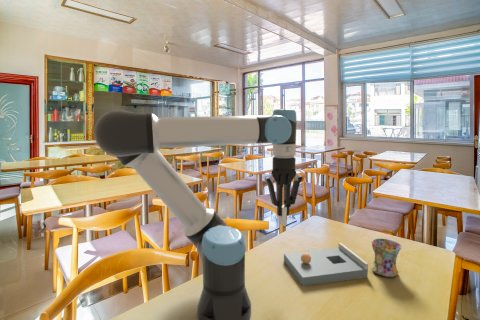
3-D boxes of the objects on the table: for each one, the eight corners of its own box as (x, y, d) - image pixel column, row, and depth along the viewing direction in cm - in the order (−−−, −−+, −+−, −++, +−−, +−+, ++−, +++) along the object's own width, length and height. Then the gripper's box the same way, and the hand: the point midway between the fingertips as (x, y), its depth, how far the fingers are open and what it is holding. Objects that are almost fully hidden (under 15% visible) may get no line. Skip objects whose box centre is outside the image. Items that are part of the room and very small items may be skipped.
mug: (405, 277, 100) (407, 248, 98) (381, 280, 98) (383, 251, 96) (382, 260, 111) (384, 234, 110) (360, 263, 110) (361, 236, 108)
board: (302, 286, 95) (302, 271, 94) (283, 261, 112) (284, 248, 111) (367, 277, 100) (368, 263, 99) (340, 254, 117) (341, 242, 116)
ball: (303, 266, 102) (303, 256, 101) (299, 261, 105) (299, 251, 105) (312, 265, 103) (313, 255, 102) (308, 260, 106) (308, 250, 106)
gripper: (268, 158, 91) (268, 230, 95) (307, 157, 94) (305, 226, 98) (261, 155, 99) (261, 222, 102) (297, 154, 101) (296, 219, 105)
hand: (282, 224), depth 100 cm, fingers closed
